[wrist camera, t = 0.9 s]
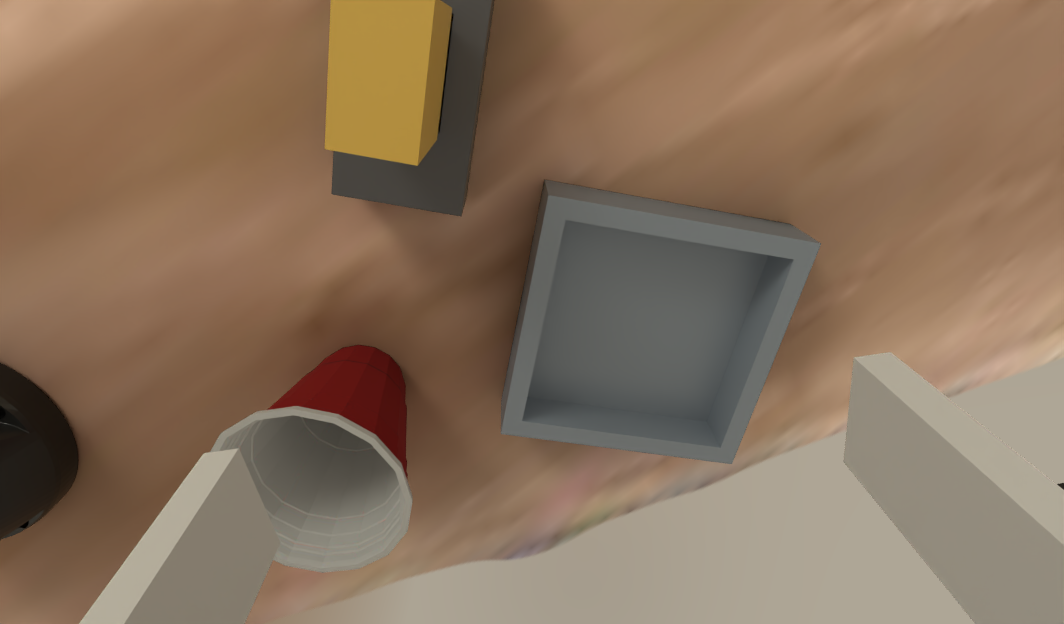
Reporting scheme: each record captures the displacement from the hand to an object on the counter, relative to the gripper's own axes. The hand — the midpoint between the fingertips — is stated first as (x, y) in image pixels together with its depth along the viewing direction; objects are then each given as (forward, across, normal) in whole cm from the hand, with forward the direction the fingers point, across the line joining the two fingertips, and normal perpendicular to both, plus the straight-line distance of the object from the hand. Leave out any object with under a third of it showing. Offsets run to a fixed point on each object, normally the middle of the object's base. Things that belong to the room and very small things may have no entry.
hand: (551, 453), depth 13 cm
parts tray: (+25, +6, -10) cm, 28 cm away
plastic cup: (+26, -13, -12) cm, 31 cm away
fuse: (+25, -4, +8) cm, 27 cm away
